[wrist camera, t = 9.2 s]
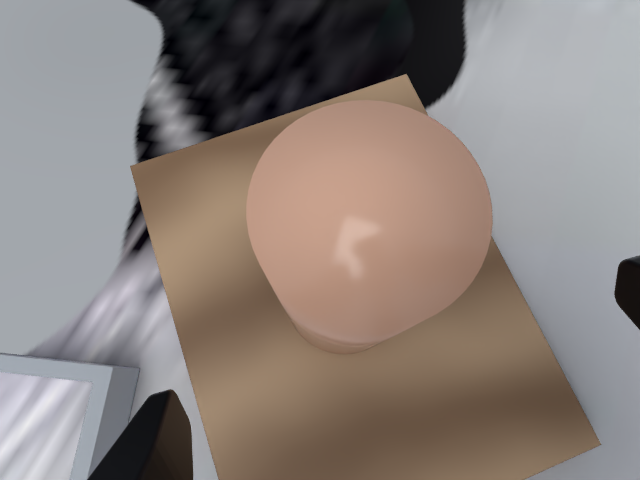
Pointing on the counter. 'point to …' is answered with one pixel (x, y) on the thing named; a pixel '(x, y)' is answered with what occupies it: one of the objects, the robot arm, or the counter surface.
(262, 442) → the walnut board
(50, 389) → the counter surface
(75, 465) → the grey box
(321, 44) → the counter surface
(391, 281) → the pink tall rounded piece
